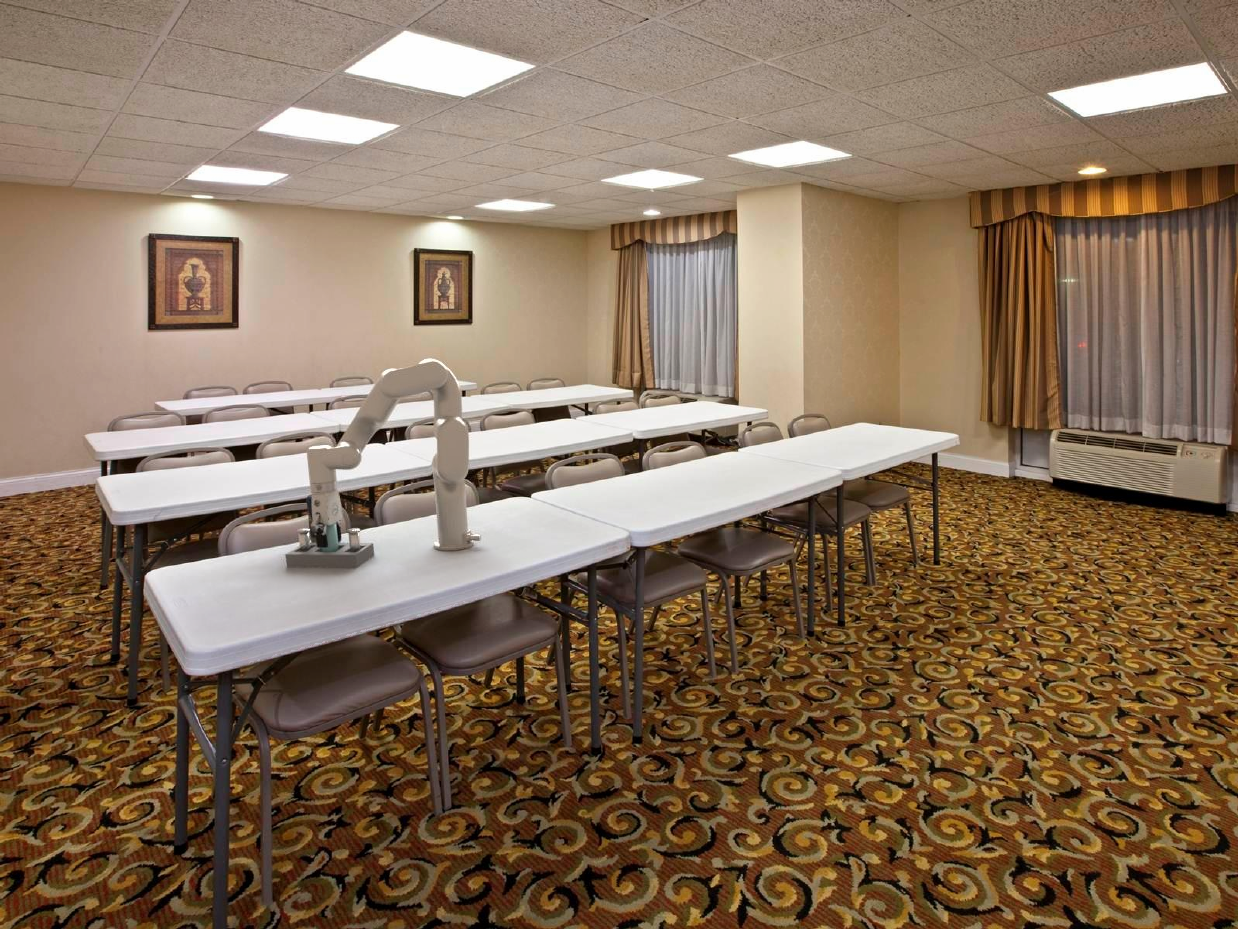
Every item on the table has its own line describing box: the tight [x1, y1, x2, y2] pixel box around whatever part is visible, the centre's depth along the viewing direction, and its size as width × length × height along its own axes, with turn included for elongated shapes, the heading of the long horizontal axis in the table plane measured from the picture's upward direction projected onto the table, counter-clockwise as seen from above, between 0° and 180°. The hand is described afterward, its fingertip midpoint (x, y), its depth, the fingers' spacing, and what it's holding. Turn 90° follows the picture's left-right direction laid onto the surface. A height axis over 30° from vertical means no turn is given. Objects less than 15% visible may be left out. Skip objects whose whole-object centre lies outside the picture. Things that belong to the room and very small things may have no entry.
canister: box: [305, 493, 343, 543], centre depth 243 cm, size 10×10×18 cm
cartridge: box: [319, 523, 339, 552], centre depth 226 cm, size 5×5×13 cm
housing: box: [285, 542, 375, 569], centre depth 227 cm, size 22×12×4 cm, turn 84°
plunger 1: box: [296, 527, 311, 552], centre depth 227 cm, size 4×4×9 cm
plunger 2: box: [346, 527, 361, 552], centre depth 225 cm, size 4×4×9 cm
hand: (329, 542), depth 226 cm, fingers open, 7 cm apart
